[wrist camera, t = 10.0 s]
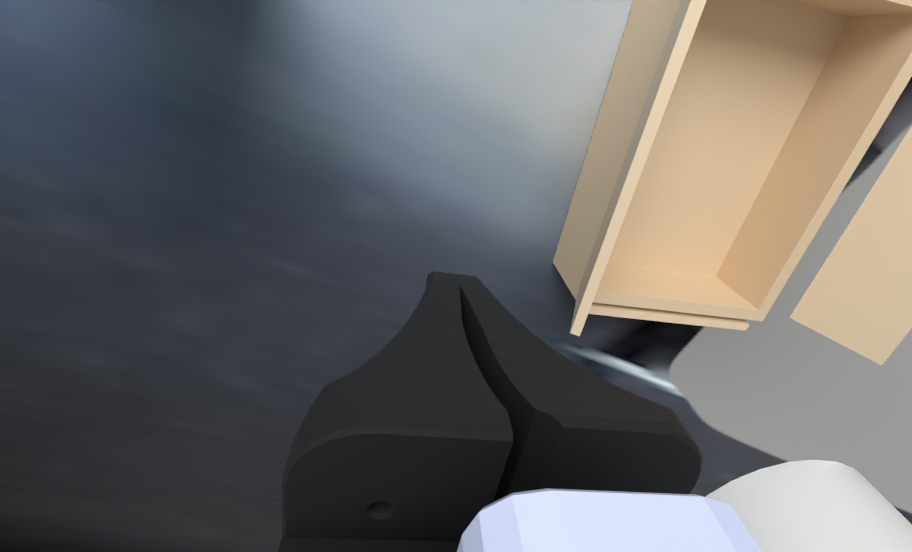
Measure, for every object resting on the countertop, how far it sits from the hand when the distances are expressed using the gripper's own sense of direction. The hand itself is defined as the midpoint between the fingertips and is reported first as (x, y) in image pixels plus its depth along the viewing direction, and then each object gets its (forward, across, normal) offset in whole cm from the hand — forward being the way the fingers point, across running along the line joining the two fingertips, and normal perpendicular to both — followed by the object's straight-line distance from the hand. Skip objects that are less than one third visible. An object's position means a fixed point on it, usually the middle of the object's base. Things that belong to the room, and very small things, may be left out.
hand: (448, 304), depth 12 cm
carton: (+10, -12, -4) cm, 16 cm away
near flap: (+4, -6, -4) cm, 8 cm away
